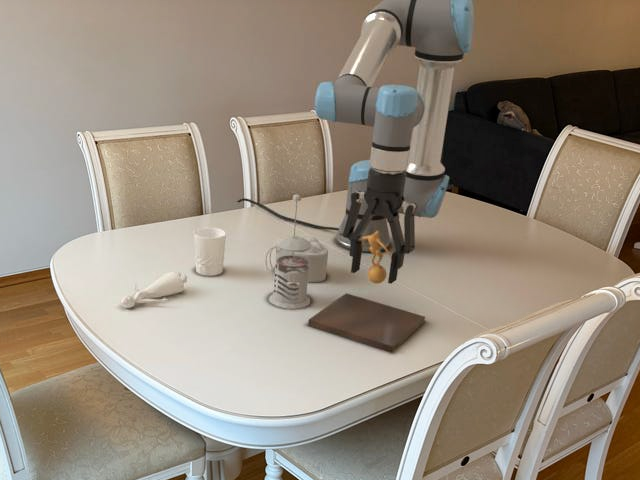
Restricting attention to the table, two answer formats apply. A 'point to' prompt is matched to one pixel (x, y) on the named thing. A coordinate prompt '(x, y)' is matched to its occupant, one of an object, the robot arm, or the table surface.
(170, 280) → the woman figurine
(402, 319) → the walnut board
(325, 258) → the lumpy-topped squat cylinder
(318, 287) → the table surface
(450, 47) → the robot arm
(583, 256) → the table surface
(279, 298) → the french press
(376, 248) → the figurine
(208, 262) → the white cup
